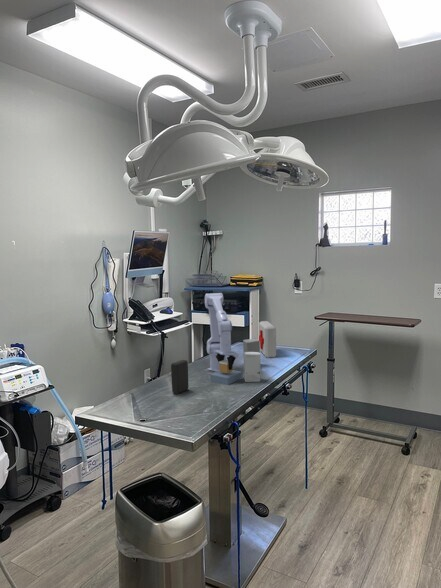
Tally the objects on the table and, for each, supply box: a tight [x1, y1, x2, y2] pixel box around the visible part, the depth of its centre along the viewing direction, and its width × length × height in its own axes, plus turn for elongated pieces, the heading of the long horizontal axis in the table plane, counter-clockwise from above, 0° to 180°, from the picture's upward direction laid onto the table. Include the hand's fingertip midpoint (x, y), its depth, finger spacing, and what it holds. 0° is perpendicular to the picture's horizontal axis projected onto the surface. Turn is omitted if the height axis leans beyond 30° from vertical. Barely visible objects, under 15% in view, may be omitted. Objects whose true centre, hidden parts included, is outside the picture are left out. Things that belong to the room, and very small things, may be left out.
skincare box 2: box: [243, 351, 261, 383], centre depth 229 cm, size 8×6×15 cm
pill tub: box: [219, 359, 234, 373], centre depth 231 cm, size 5×5×6 cm
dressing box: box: [210, 369, 243, 386], centre depth 231 cm, size 13×11×4 cm
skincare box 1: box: [242, 338, 261, 354], centre depth 255 cm, size 8×7×16 cm
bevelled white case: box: [258, 320, 277, 359], centre depth 282 cm, size 21×8×20 cm, turn 6°
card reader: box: [170, 359, 189, 395], centre depth 214 cm, size 9×4×15 cm, turn 145°
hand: (226, 368), depth 231 cm, fingers closed on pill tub, 5 cm apart
